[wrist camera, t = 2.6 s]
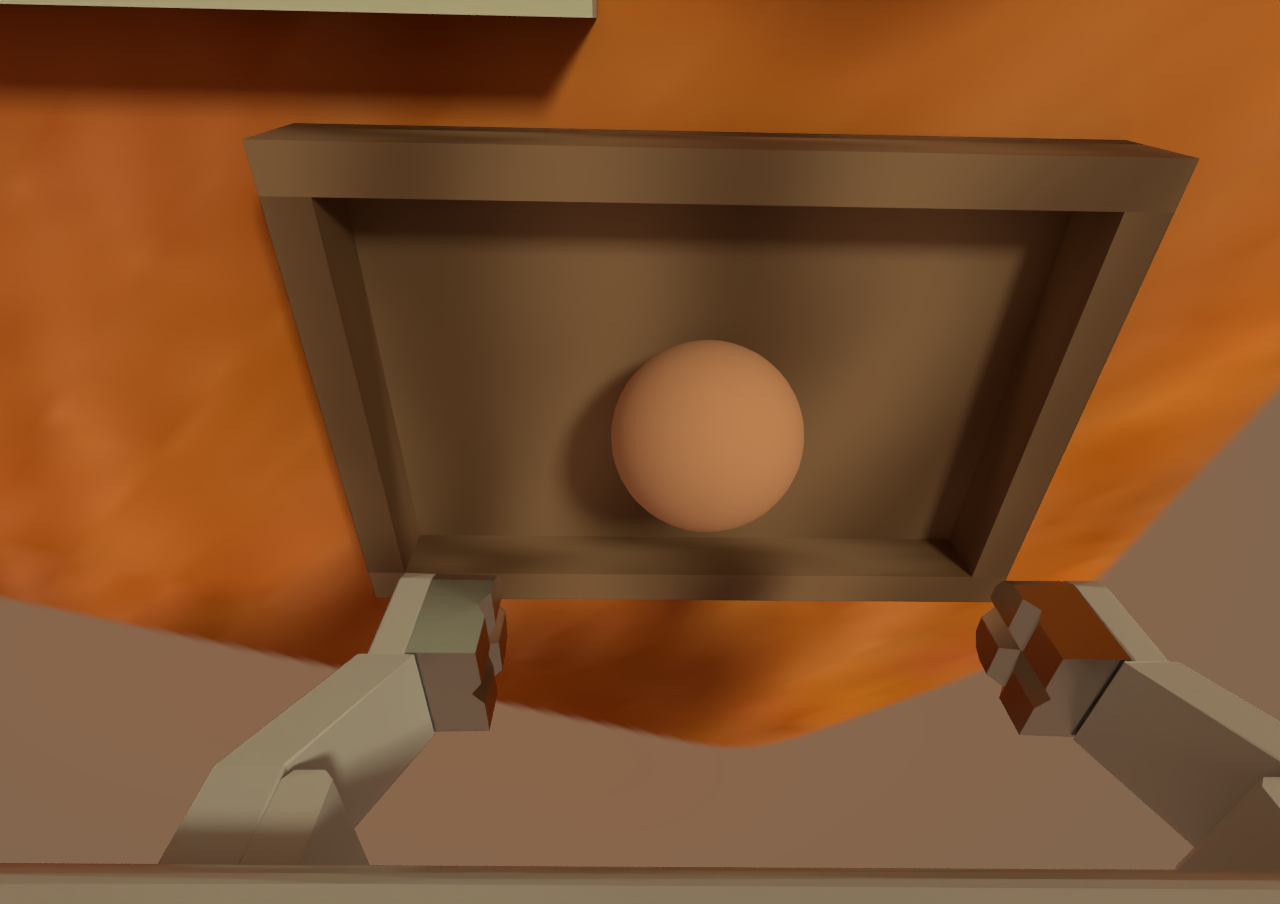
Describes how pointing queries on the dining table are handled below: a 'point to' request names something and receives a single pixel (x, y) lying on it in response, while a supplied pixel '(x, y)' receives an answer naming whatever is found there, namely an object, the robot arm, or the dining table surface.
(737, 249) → the dish
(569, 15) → the tray
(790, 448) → the ball
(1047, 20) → the dining table surface
